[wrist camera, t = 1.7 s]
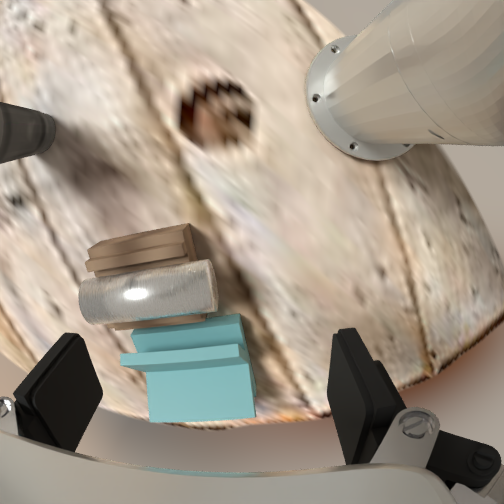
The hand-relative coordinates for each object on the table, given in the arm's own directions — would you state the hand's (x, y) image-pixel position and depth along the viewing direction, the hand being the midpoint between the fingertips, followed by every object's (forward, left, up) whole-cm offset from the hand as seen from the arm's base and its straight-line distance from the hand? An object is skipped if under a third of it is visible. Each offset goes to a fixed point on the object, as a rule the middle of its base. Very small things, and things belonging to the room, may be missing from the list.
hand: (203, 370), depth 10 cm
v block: (+7, +14, -20) cm, 26 cm away
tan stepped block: (+9, +3, -20) cm, 22 cm away
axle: (+8, +3, -17) cm, 19 cm away
